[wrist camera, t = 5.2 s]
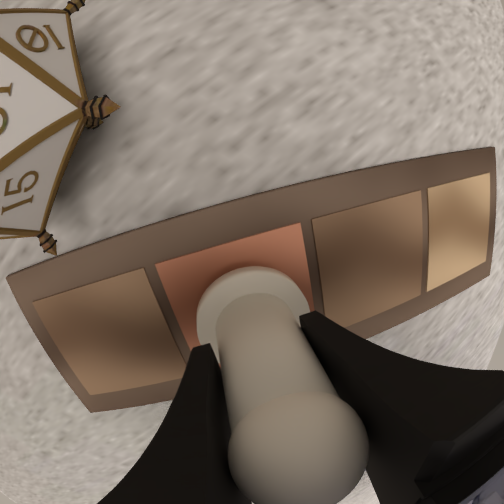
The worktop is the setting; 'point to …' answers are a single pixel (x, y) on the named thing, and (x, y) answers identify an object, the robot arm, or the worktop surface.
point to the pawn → (278, 394)
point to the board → (267, 255)
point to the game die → (39, 115)
